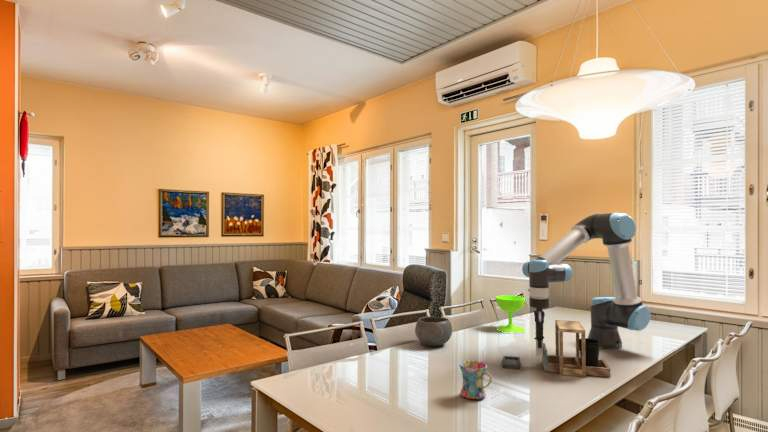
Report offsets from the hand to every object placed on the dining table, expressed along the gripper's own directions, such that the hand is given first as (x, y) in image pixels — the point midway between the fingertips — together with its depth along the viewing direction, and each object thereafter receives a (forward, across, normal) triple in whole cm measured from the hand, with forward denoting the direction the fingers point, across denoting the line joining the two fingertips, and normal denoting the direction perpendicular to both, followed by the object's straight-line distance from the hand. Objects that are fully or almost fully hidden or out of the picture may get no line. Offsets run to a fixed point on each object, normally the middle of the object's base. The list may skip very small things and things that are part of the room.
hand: (539, 354), depth 176 cm
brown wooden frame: (+5, 0, +12) cm, 13 cm away
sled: (+4, 0, +13) cm, 14 cm away
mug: (+5, +40, -22) cm, 46 cm away
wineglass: (+5, -62, -12) cm, 63 cm away
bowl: (+5, -20, -48) cm, 52 cm away
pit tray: (+5, 0, -11) cm, 12 cm away
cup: (+5, 0, +19) cm, 19 cm away
